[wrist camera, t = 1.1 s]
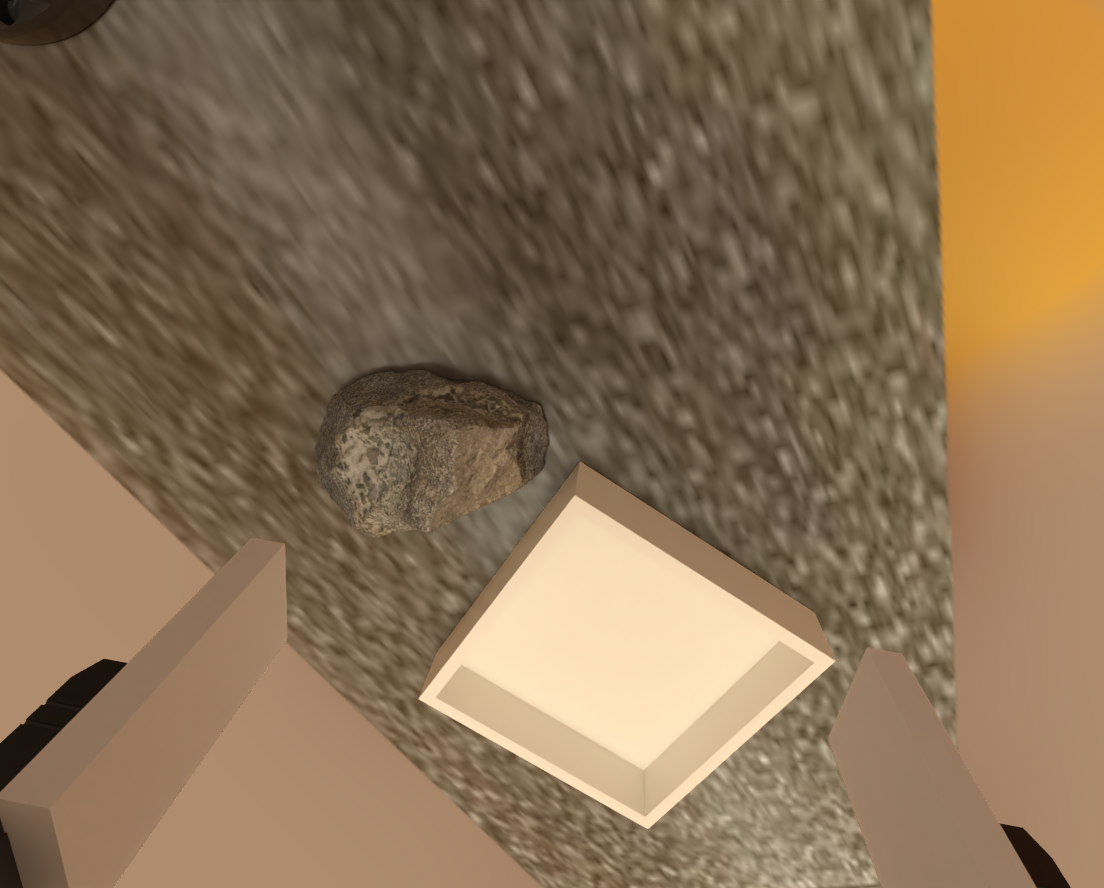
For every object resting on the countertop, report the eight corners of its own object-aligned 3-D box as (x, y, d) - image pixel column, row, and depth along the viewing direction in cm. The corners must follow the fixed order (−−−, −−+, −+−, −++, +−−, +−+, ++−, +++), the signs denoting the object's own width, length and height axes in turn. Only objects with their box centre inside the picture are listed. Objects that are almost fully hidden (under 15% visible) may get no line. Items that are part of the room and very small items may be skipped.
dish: (437, 651, 45) (418, 699, 41) (580, 461, 38) (574, 494, 34) (645, 773, 47) (647, 829, 43) (814, 612, 41) (835, 661, 37)
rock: (363, 519, 41) (319, 575, 35) (303, 394, 39) (244, 432, 33) (563, 463, 39) (552, 513, 33) (512, 324, 36) (490, 351, 30)
